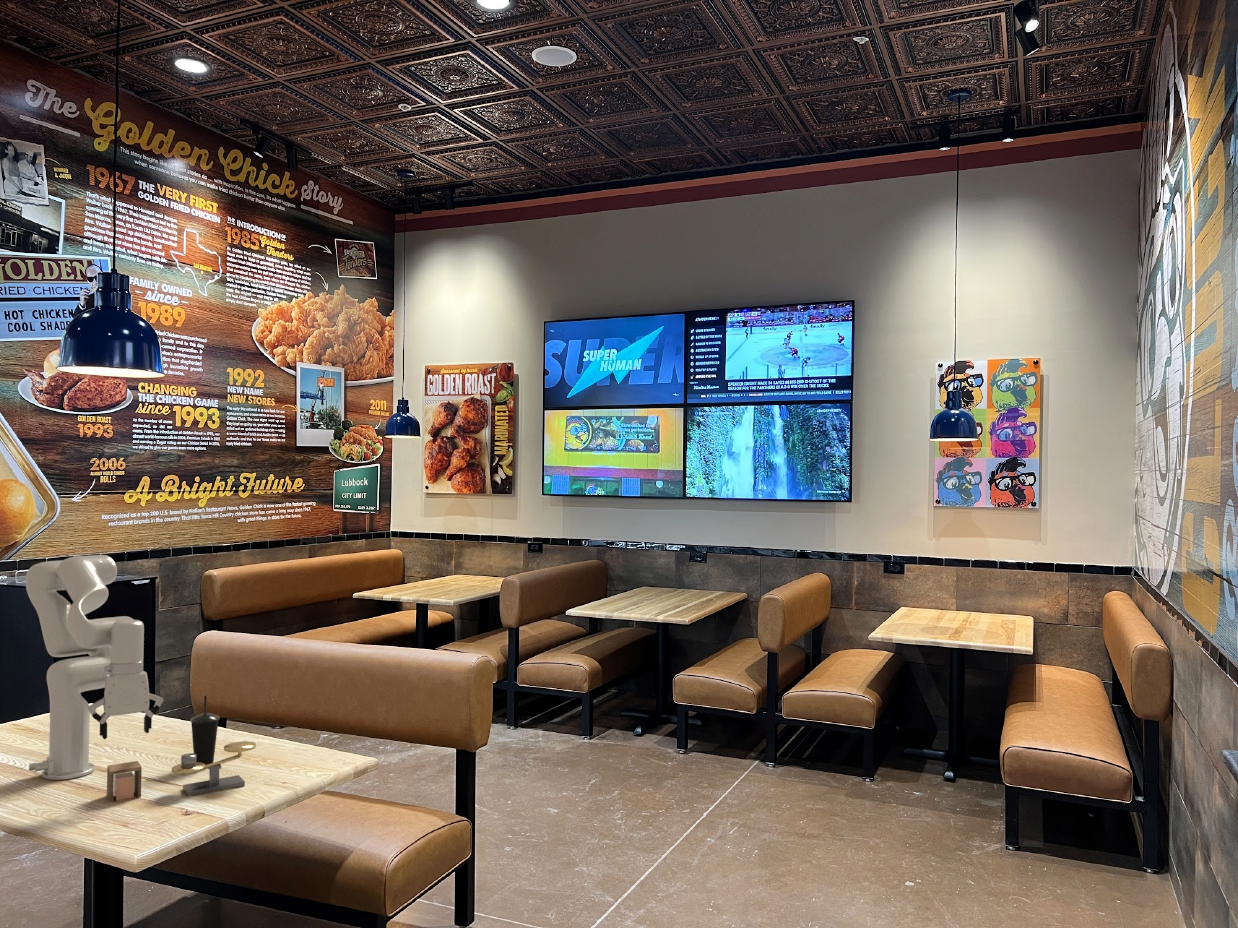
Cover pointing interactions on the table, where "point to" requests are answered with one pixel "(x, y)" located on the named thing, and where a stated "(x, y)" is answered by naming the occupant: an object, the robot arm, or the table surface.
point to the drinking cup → (204, 735)
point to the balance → (212, 770)
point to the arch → (122, 769)
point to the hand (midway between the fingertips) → (125, 734)
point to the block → (123, 785)
